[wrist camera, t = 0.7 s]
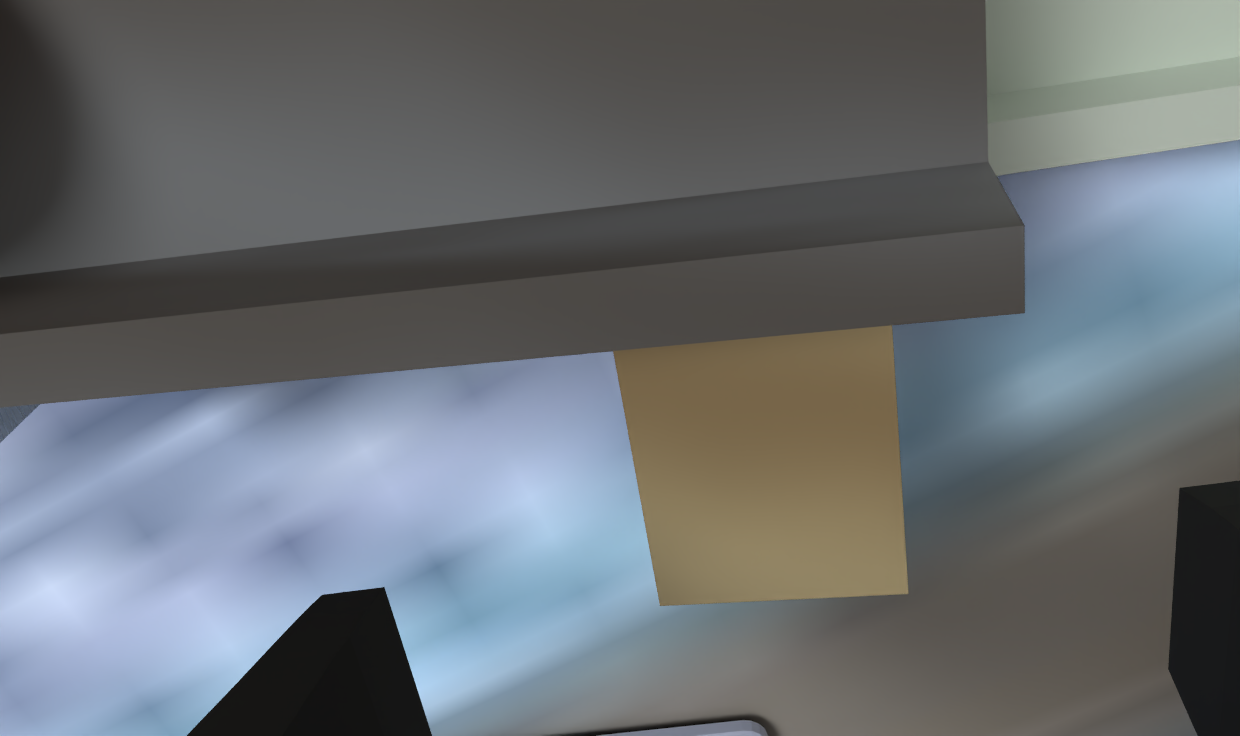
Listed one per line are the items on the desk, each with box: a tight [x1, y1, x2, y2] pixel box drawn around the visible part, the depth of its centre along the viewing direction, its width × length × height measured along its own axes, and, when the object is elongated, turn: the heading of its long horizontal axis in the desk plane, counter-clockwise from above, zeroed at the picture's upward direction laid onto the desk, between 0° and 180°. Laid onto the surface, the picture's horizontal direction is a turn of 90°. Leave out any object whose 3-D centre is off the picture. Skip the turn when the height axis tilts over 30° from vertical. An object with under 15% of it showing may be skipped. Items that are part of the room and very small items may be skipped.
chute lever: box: [0, 0, 1025, 606], centre depth 11 cm, size 12×14×3 cm
